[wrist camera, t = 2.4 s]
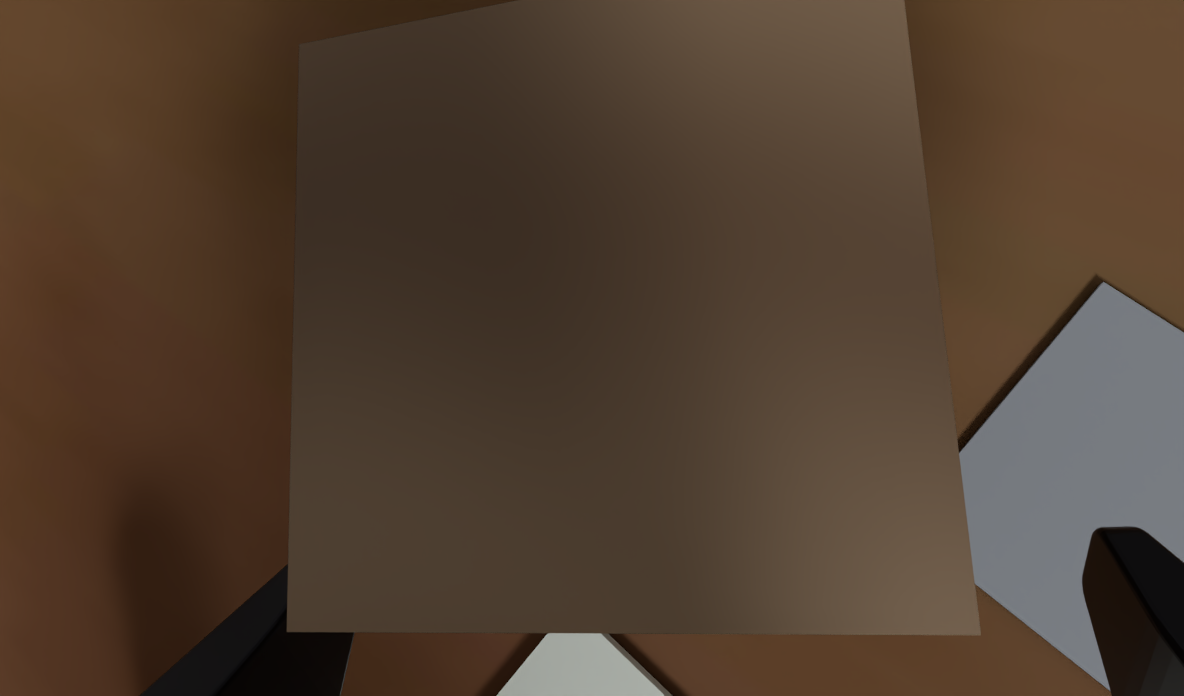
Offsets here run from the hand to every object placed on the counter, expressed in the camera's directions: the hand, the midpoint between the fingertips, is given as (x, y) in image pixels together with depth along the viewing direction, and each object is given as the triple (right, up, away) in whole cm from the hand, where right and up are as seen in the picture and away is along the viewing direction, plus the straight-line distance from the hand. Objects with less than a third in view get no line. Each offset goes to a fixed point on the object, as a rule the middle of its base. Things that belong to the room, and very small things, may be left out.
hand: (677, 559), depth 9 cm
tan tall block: (+2, +1, +10) cm, 10 cm away
